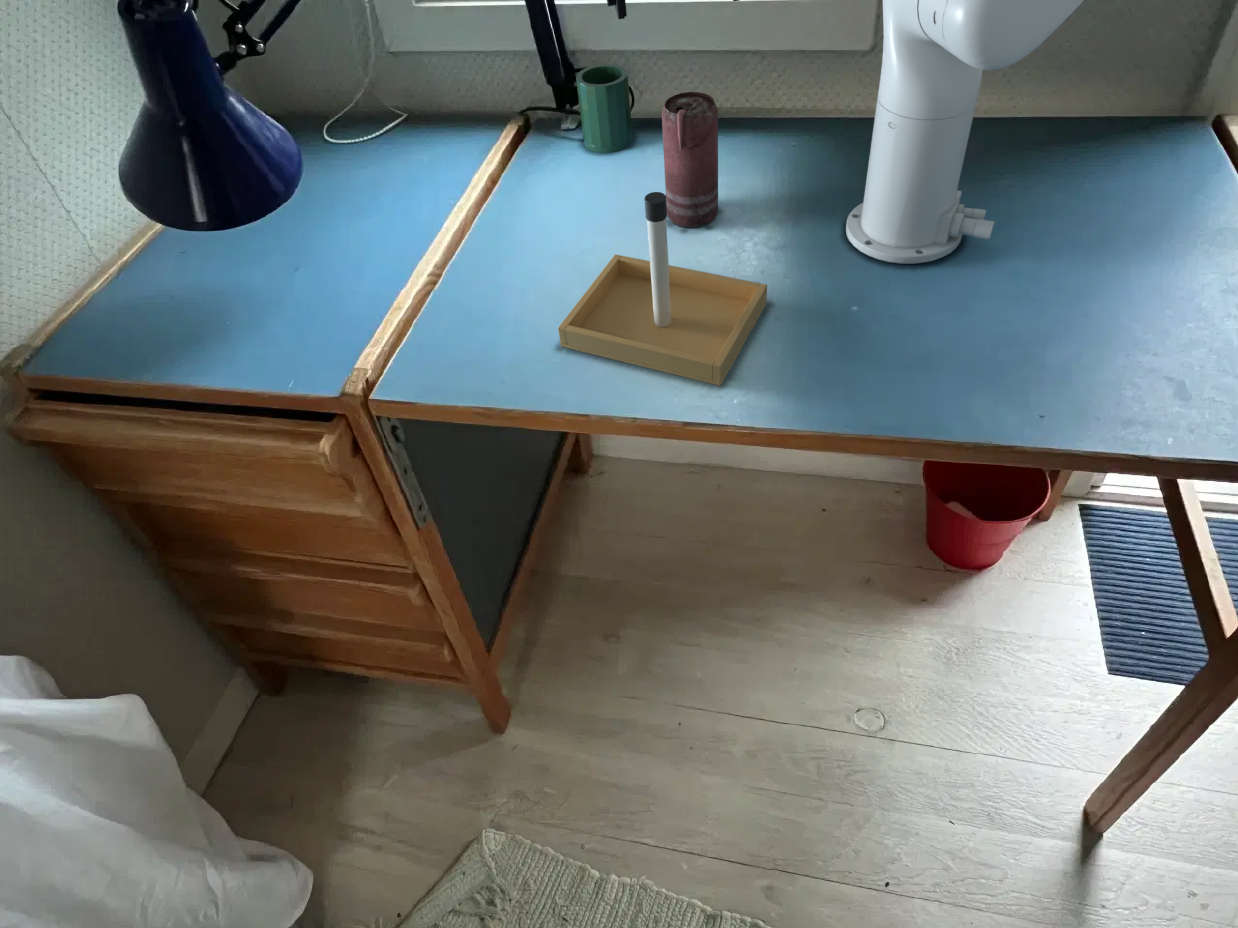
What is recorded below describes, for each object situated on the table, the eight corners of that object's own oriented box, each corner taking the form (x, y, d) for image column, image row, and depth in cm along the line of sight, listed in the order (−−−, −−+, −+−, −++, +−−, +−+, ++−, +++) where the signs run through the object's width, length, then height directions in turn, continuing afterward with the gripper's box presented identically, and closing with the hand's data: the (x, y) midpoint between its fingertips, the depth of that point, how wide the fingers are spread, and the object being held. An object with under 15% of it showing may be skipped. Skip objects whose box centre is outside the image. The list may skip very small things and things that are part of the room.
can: (662, 230, 103) (655, 116, 93) (672, 201, 107) (667, 88, 97) (713, 233, 102) (712, 117, 92) (721, 203, 106) (721, 90, 96)
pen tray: (766, 304, 92) (767, 284, 90) (720, 386, 84) (720, 366, 83) (616, 272, 98) (614, 254, 97) (560, 346, 90) (557, 327, 89)
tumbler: (640, 132, 120) (635, 67, 113) (619, 156, 116) (613, 89, 109) (597, 126, 122) (590, 61, 116) (576, 149, 118) (567, 83, 112)
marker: (675, 318, 91) (669, 193, 81) (667, 329, 90) (660, 204, 79) (657, 314, 92) (649, 190, 81) (650, 325, 91) (640, 201, 80)
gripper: (544, -222, 59) (579, 38, 72) (797, -262, 59) (787, 5, 72) (539, -242, 64) (572, 3, 77) (771, -279, 64) (767, -27, 77)
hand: (676, 4), depth 74 cm, fingers open, 9 cm apart
